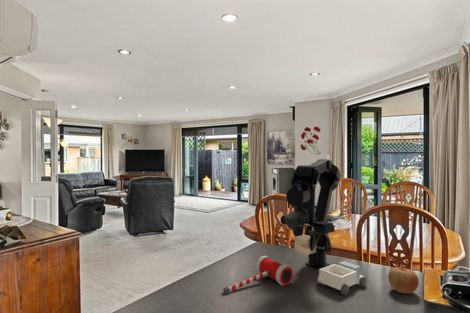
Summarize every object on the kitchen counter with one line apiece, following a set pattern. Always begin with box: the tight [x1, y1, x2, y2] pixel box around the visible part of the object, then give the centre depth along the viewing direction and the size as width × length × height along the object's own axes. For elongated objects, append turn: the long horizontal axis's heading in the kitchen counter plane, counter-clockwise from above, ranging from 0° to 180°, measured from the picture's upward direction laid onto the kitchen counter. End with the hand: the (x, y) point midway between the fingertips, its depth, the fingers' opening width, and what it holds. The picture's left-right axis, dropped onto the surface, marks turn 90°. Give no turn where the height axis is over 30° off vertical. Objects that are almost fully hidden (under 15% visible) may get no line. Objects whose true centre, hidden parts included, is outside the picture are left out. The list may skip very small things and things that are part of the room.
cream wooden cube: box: [294, 233, 316, 256], centre depth 102 cm, size 5×5×5 cm
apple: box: [387, 264, 420, 294], centre depth 92 cm, size 8×8×8 cm
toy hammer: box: [222, 255, 294, 295], centre depth 95 cm, size 23×12×6 cm, turn 126°
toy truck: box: [315, 260, 368, 296], centre depth 96 cm, size 13×10×6 cm
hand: (305, 248), depth 102 cm, fingers closed on cream wooden cube, 5 cm apart
